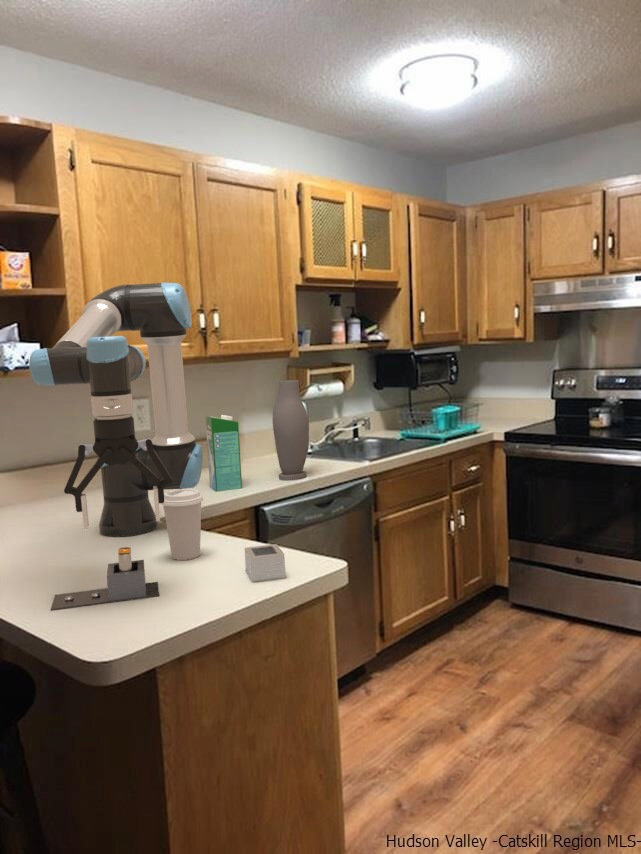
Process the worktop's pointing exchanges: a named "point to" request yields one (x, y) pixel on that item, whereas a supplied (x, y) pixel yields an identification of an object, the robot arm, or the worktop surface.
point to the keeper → (101, 594)
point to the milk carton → (223, 453)
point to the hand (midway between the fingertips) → (122, 523)
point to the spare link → (265, 562)
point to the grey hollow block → (126, 581)
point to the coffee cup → (183, 522)
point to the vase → (290, 431)
